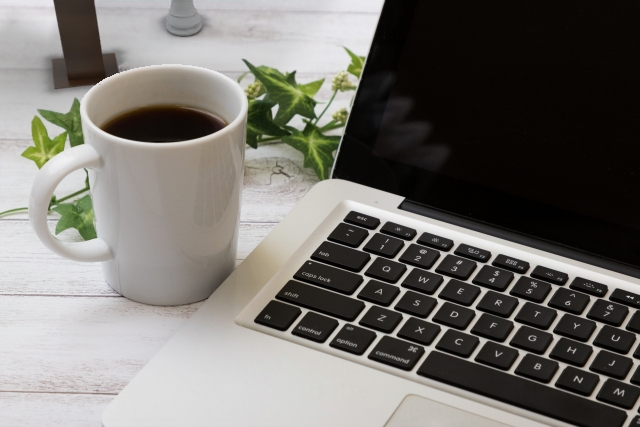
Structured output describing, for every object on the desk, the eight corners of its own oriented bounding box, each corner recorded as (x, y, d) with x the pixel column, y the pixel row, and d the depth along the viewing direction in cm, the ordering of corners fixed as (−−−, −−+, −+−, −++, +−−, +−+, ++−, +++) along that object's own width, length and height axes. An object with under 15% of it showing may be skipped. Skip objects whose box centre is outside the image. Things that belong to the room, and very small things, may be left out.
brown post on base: (52, 53, 90) (20, -108, 79) (112, 47, 92) (90, -111, 81) (57, 113, 80) (21, -62, 69) (125, 105, 82) (102, -67, 70)
